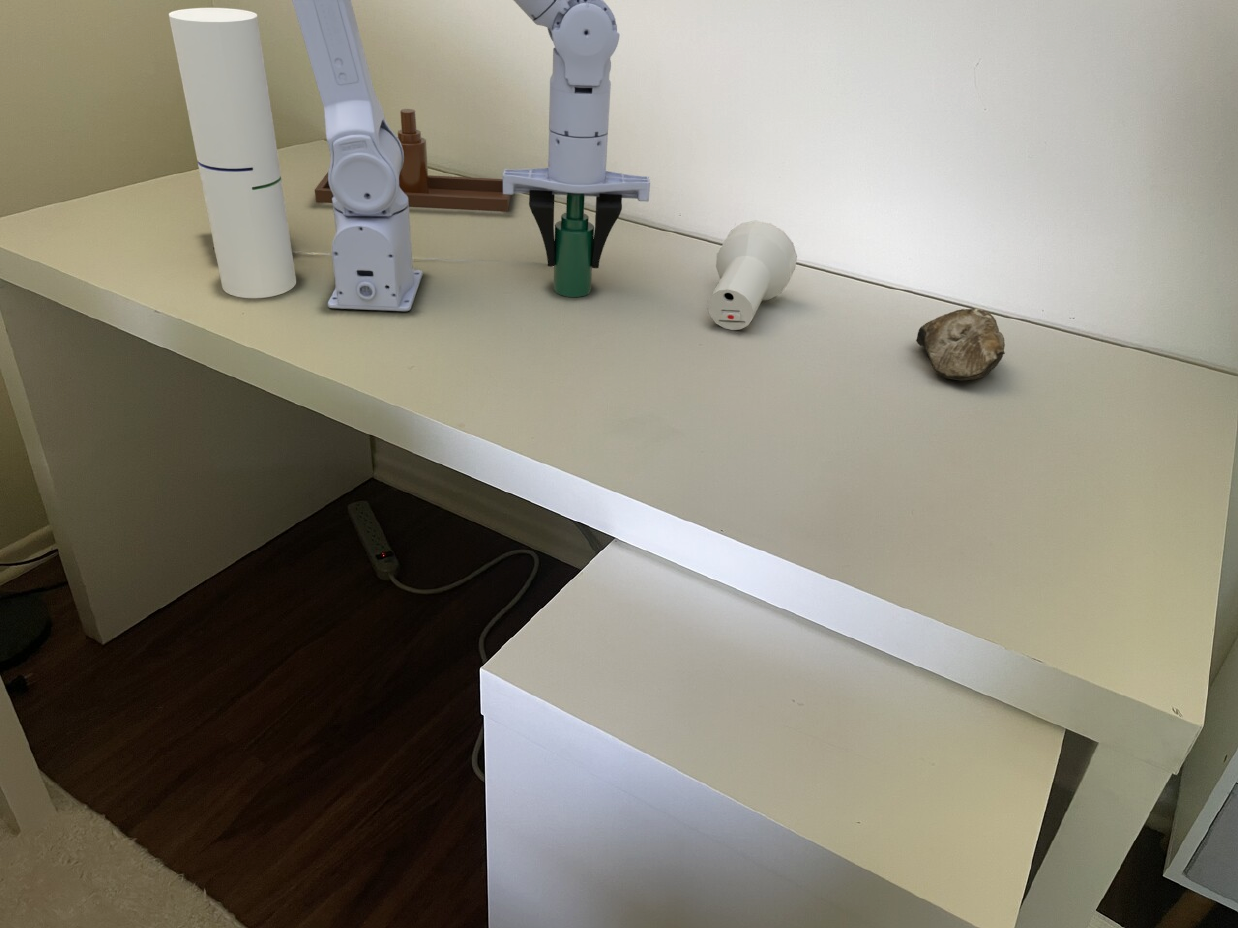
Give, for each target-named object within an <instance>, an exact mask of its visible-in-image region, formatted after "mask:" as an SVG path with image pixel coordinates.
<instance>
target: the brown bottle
mask: <svg viewBox="0 0 1238 928" xmlns="http://www.w3.org/2000/svg"><path fill="white" fill-rule="evenodd" d="M399 111H400V112H399V113H400V127H401V129H399V130H397V137H398V139H399V141H400V142H401V145H402V148H403V152H404V163H403V166H402V169H401V171H400V175H399V187H400V188H401V190H402V191H403V192H406V193H426V194H429V183H428V175H429V169H428V148H427V139H425V138H424V137H422V133H421V131H420V130H419V129H417V118H416V117H417V113H416V110H415V109H412V108H403V109H400V110H399Z"/></svg>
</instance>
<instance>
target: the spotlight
mask: <svg viewBox="0 0 1238 928" xmlns="http://www.w3.org/2000/svg"><path fill="white" fill-rule="evenodd" d="M795 247H796V246H795V244H794V242H793V241H792V239H791V238H790V237H789V236H788V234H787V233H786V231H784V230H782V229H781V228H780V227H778V226H776V225H775V224H773V223H771V222H766V221H761V220H750V221H746V222H742V223H740V224H738V225H736V227H734V228H732V229H731V230H730V231H729V233H728V235H727V237H726V238H725V239H724V241H723V243H722V245H721V247H720V248H719V250H718V251H717V253H716V261H715V262H716V263H715V268H716V271H717V275H718V277H719V279H720V280H719V281H718V283H717V285H716V286H715V288H714V290H713V291H712V293H711V295H710V297H709V298H708V301H707V308H706V309H707V312H708V315H709V317H710V318H711V319H712V320H713V322H714V323H715V324H717V326H720V327H722V328H723V329H726V330H731V331H737V330H742V329H744V328H746V327H748V326H749V325H750V323H751V322H752V320H753V319H754V318H755V315H756V313H757V311H758V309H759V307H760V306H761V303H762V301H770V300H772V299H774V298H776V297H777V296H778V295H780V294H782V293H783V291H784V290H785V288H787V286H788V284H789V283H790V281H791V279H792V277H793V274H794V273H795V271H796V267H797V260H798V254H797V251H796V248H795Z"/></svg>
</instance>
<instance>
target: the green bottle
mask: <svg viewBox="0 0 1238 928" xmlns="http://www.w3.org/2000/svg"><path fill="white" fill-rule="evenodd" d="M585 198H586V196H584V193H567V195H566V203H565V205H566V207H565V212H563V213H562V214H561V216H560V220H558V221H557V222H556V223H554V241H555V244H554V251H555V263H554V266H553V283H552V284H553V285H552V287H553V292H554V293H556V294H558V295H560V296H563V297H567V298H581V297H584V296H588V295H589V294H590V293H591V291H592V280H593V279H592V278H593V277H592V275H593V268H592V255H593V239H594V232H595V225H594V224H593V223H592V222H589V219H590V217H589V215H588V214H586V213H585Z"/></svg>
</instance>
